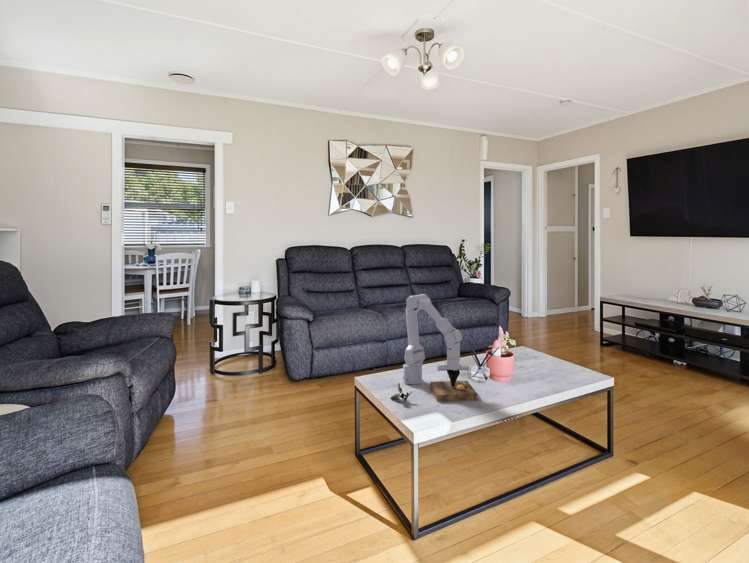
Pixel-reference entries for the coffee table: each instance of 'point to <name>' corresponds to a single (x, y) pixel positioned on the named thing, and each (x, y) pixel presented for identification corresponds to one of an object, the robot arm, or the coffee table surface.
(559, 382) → the coffee table surface
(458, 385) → the ball
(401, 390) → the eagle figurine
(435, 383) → the board
